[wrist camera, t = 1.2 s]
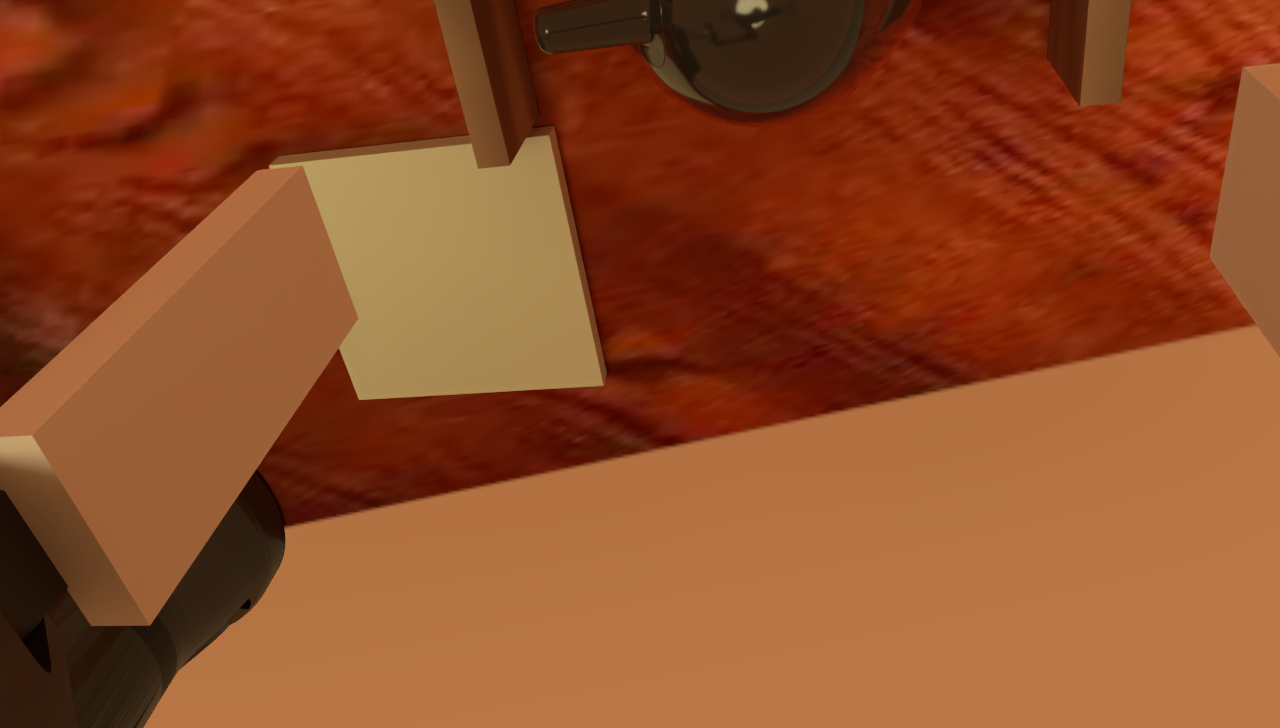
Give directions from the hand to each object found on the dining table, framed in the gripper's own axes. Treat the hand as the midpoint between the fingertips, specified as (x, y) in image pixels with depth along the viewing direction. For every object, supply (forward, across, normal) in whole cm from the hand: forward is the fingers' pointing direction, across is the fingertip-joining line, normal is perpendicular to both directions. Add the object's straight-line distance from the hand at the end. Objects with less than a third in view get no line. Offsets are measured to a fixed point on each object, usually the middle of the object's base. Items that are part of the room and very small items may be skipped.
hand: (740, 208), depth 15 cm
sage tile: (+24, -15, -13) cm, 31 cm away
